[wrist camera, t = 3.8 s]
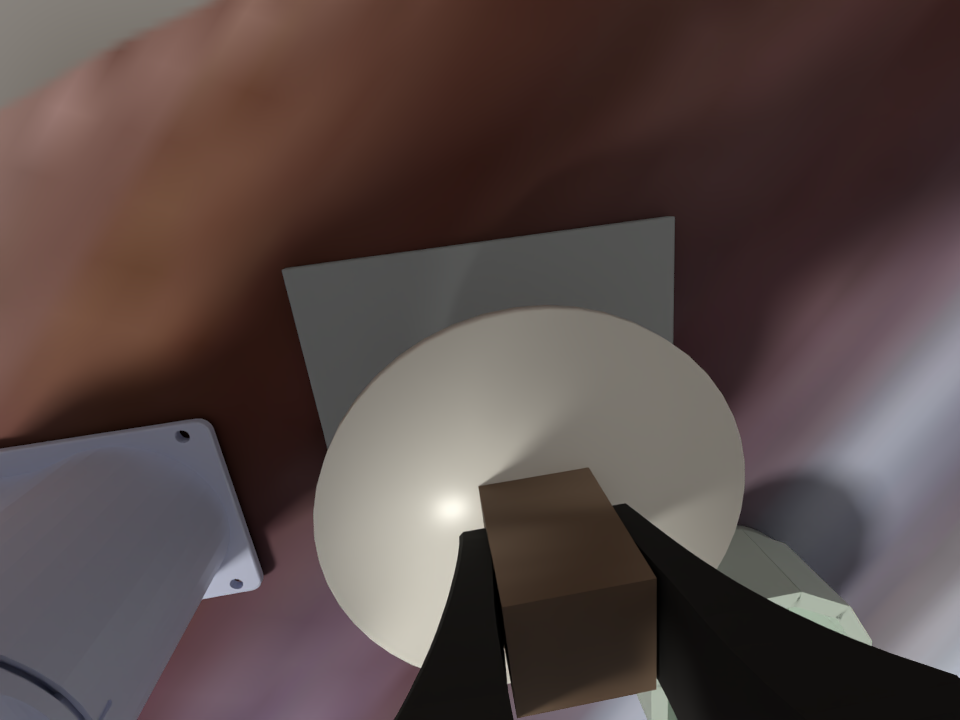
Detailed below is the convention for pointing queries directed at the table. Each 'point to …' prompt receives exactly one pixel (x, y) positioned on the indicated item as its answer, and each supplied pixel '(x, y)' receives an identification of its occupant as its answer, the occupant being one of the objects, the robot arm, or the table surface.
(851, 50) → the table surface
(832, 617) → the bowl
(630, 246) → the mat
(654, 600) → the lid
